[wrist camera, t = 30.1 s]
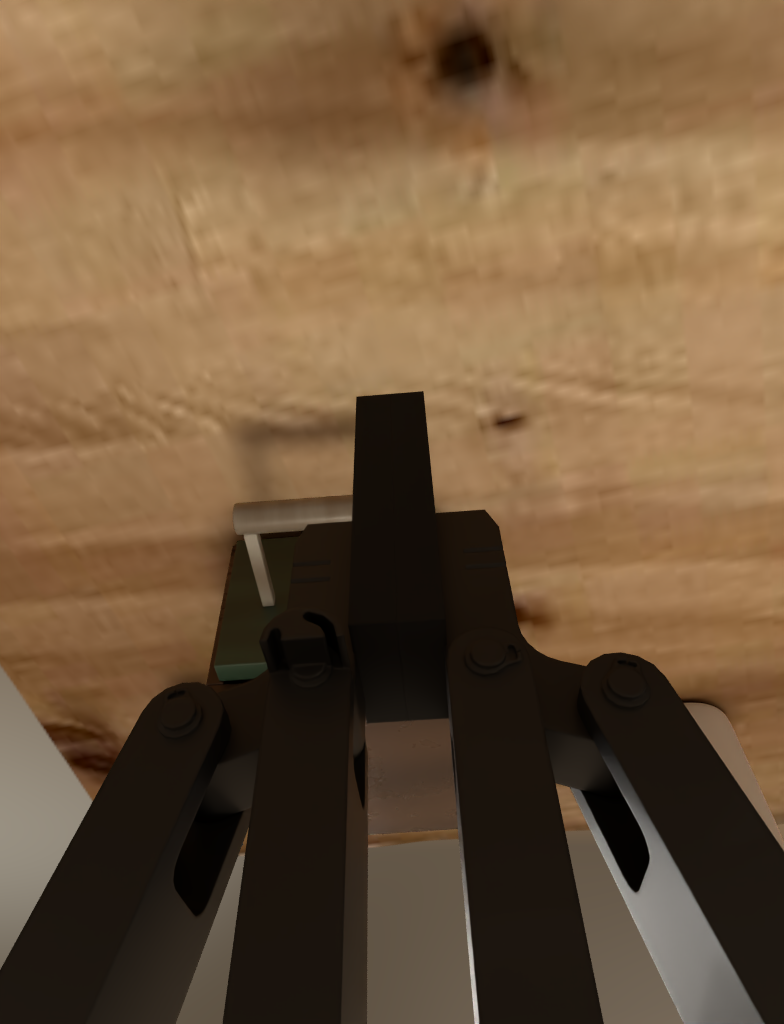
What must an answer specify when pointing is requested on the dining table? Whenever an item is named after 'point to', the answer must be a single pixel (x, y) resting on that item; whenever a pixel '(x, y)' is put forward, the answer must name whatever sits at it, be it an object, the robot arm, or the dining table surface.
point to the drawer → (264, 576)
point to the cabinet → (395, 766)
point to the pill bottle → (733, 758)
